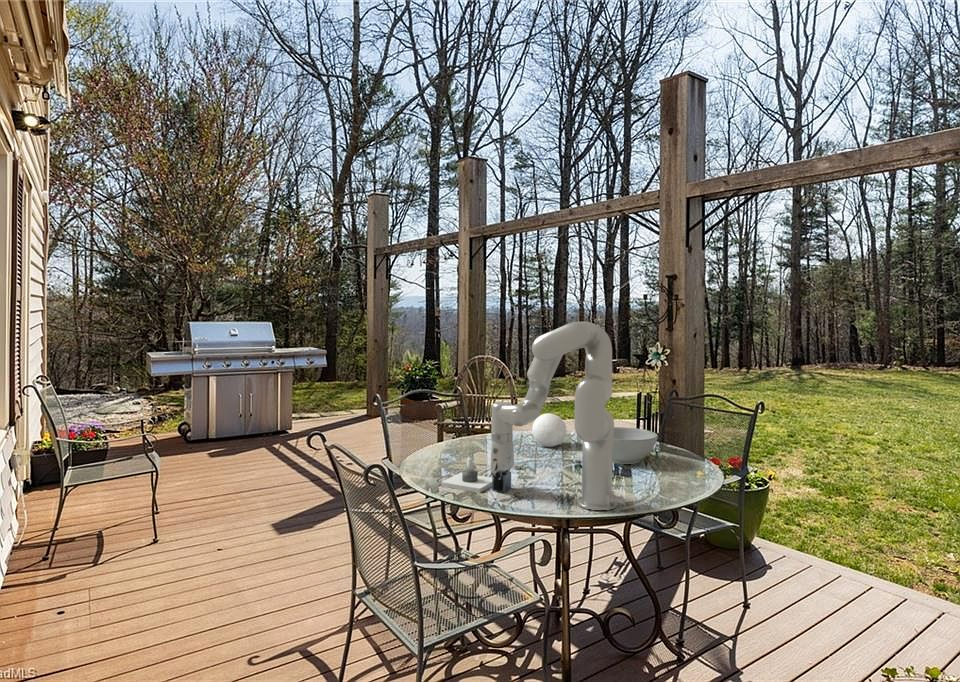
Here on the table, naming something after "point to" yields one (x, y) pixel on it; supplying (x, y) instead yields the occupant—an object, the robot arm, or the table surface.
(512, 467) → the adjustable wrench
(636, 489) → the table surface
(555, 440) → the decorative orb
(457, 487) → the shaft mount
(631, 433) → the decorative bowl
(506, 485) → the coupler
